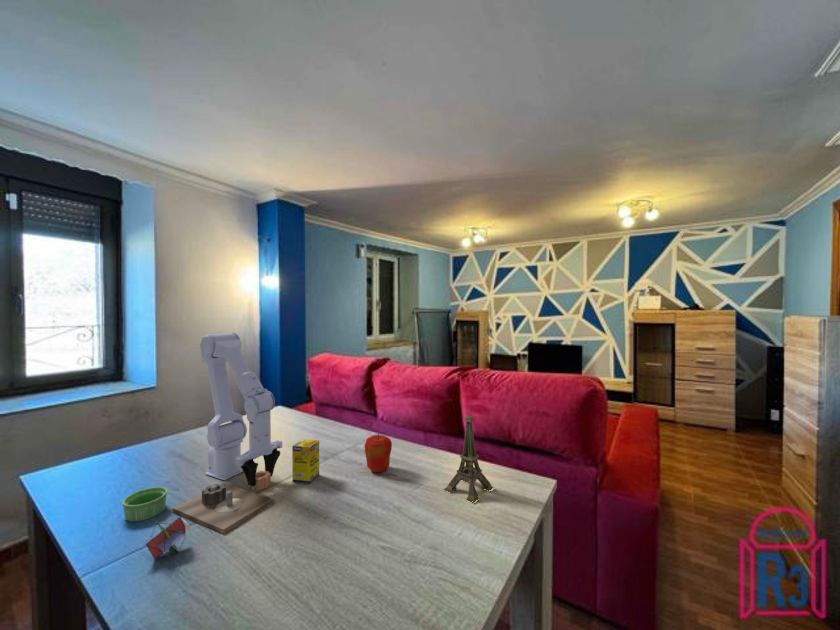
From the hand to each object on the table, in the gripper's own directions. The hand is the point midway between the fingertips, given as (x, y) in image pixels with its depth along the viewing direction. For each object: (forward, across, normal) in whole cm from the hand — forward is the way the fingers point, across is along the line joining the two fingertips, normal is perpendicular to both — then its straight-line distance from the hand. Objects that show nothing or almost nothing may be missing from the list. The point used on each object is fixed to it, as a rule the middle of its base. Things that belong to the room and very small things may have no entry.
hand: (260, 480), depth 101 cm
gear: (+1, 0, 0) cm, 1 cm away
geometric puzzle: (+2, -28, -6) cm, 29 cm away
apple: (+2, +23, -26) cm, 35 cm away
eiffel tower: (+2, +24, -56) cm, 61 cm away
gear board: (+1, -12, -1) cm, 12 cm away
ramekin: (+2, -22, +15) cm, 27 cm away
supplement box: (+2, +9, -9) cm, 13 cm away
